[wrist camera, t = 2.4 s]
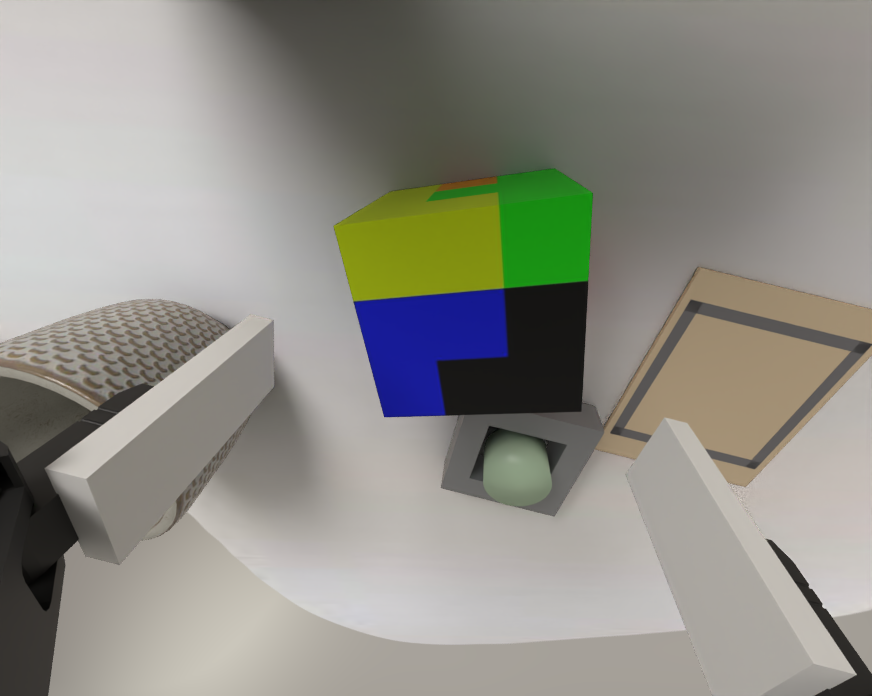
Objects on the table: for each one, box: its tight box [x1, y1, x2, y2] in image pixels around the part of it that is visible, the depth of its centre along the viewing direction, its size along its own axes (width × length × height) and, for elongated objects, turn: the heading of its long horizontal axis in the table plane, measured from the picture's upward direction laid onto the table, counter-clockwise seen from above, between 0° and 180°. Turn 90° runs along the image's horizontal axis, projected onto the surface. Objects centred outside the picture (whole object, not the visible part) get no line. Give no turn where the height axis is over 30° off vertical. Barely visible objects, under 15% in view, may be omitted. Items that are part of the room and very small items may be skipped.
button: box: [483, 429, 552, 506], centre depth 30 cm, size 5×5×4 cm
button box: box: [441, 403, 604, 516], centre depth 31 cm, size 10×10×3 cm
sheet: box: [595, 267, 872, 487], centre depth 28 cm, size 16×13×1 cm
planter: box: [0, 299, 251, 541], centre depth 27 cm, size 14×14×13 cm
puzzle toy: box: [334, 168, 593, 417], centre depth 21 cm, size 10×10×10 cm
